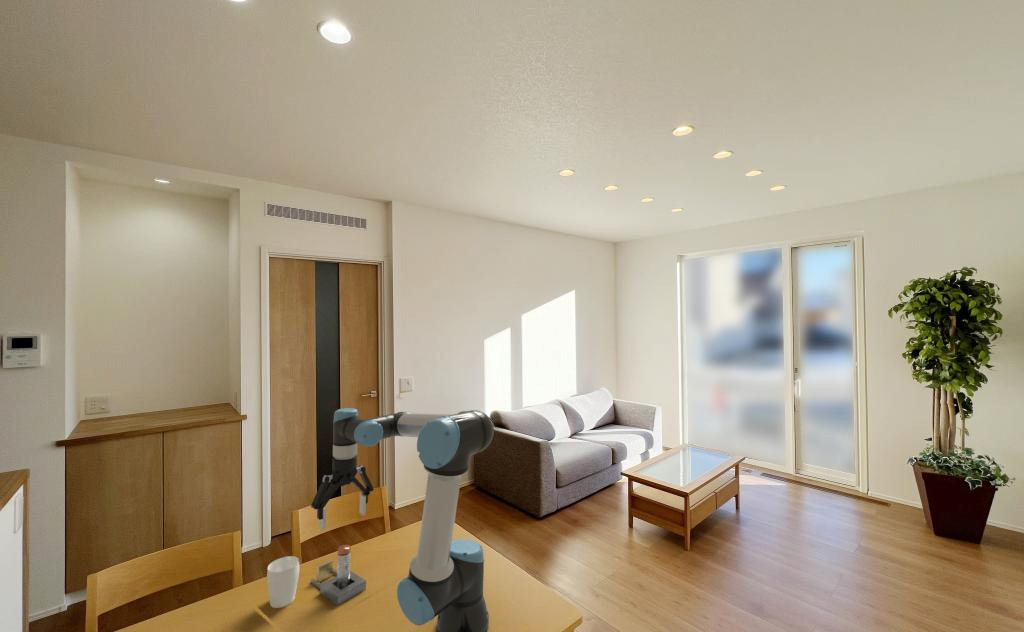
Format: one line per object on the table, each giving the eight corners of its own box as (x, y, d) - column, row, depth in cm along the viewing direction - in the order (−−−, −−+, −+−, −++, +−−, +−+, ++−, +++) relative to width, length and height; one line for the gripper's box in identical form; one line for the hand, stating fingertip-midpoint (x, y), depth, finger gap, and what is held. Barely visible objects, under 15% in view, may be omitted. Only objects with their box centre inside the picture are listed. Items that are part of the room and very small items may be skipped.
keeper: (332, 575, 141) (332, 560, 141) (318, 582, 137) (319, 567, 137) (330, 573, 142) (330, 559, 142) (316, 580, 138) (316, 565, 138)
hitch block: (373, 586, 136) (373, 576, 137) (334, 609, 125) (334, 598, 125) (343, 567, 147) (343, 558, 147) (304, 587, 136) (305, 576, 136)
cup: (284, 614, 123) (285, 574, 123) (258, 610, 125) (259, 570, 125) (305, 595, 132) (306, 557, 132) (281, 591, 133) (282, 554, 134)
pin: (352, 590, 133) (353, 547, 134) (341, 596, 130) (342, 552, 130) (345, 585, 136) (346, 543, 136) (334, 592, 132) (335, 548, 133)
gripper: (373, 445, 147) (371, 505, 146) (300, 462, 128) (298, 531, 127) (384, 450, 142) (383, 511, 141) (311, 468, 123) (309, 539, 122)
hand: (343, 521), depth 134 cm, fingers open, 13 cm apart
